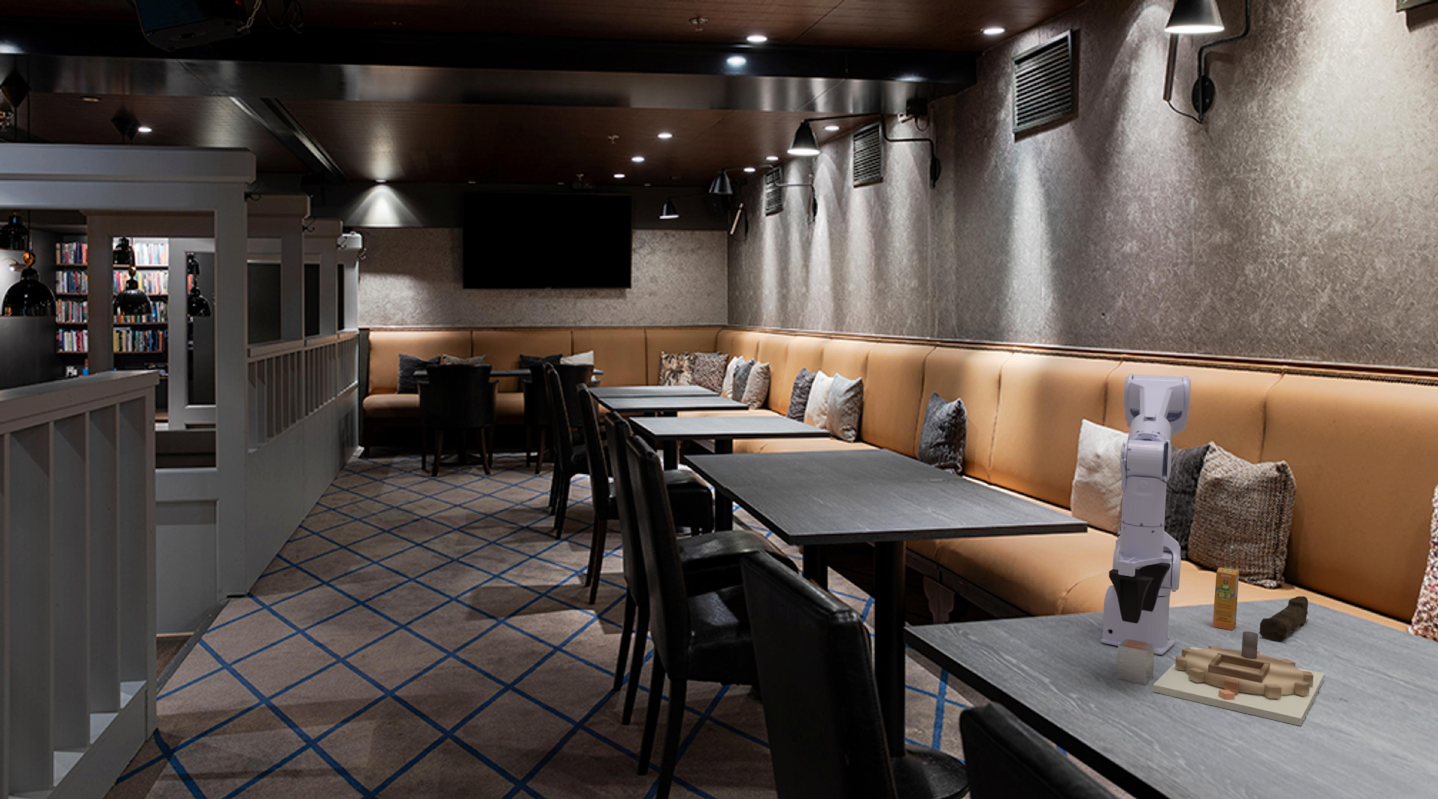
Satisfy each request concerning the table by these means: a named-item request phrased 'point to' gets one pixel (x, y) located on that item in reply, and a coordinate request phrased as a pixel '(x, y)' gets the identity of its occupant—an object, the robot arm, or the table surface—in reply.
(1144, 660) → the copper-capped metal cube
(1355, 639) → the table surface
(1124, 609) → the robot arm
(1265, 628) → the dark brown log
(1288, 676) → the sprocket disc
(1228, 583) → the supplement box
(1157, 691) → the index plate
